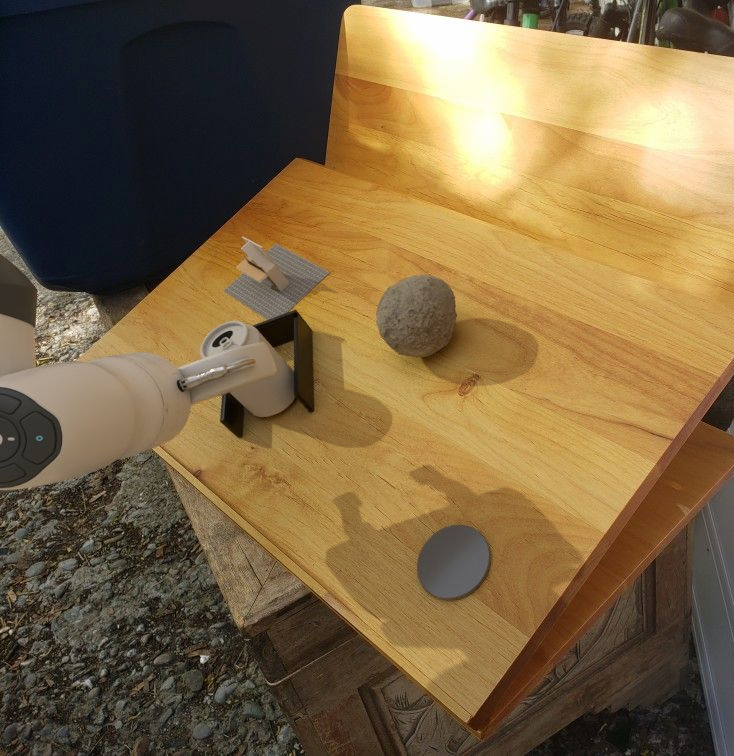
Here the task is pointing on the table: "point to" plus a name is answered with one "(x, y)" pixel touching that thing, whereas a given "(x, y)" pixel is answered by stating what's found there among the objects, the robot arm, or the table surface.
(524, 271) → the table surface
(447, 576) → the coaster
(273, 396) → the can
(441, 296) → the decorative stone
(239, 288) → the architectural model
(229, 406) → the frame
